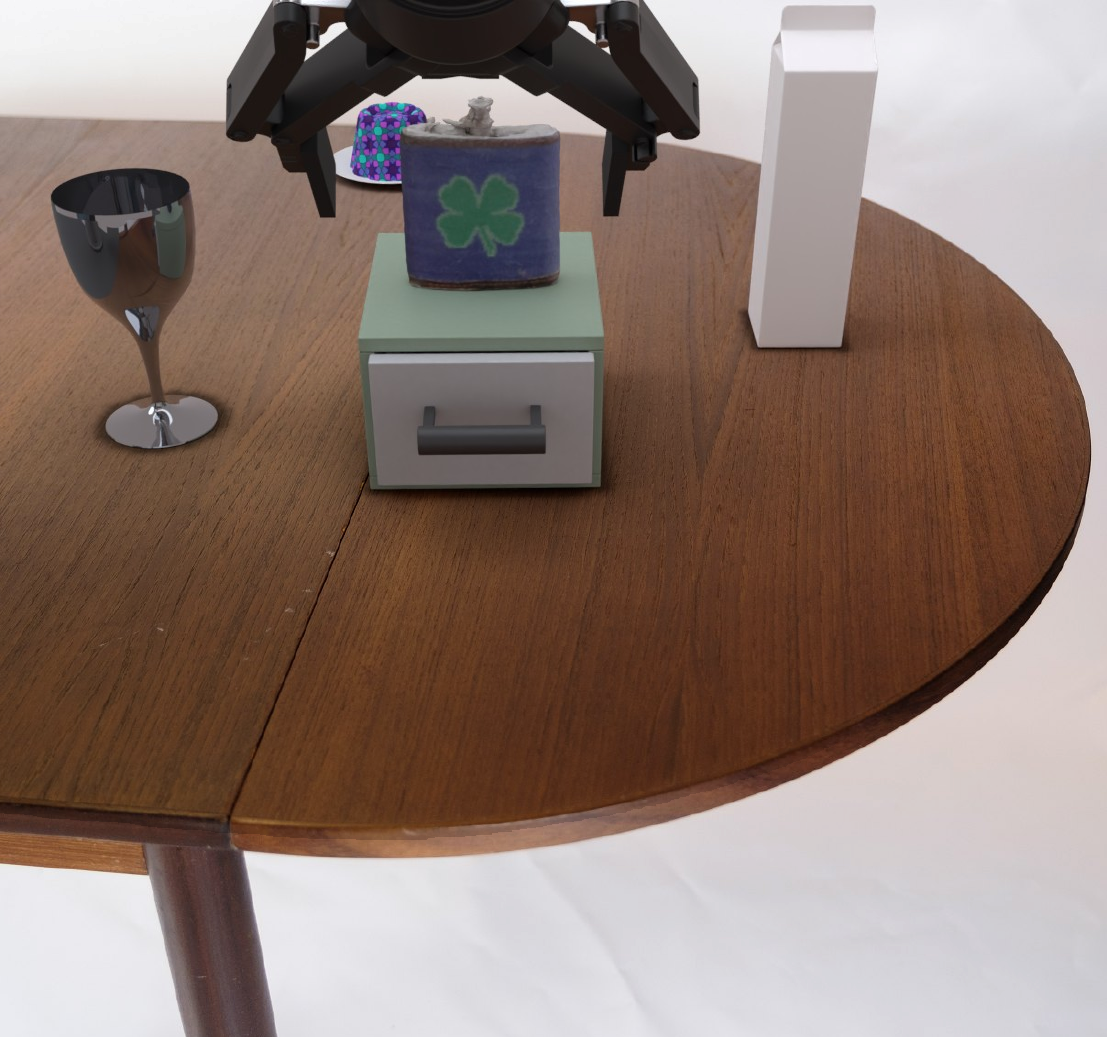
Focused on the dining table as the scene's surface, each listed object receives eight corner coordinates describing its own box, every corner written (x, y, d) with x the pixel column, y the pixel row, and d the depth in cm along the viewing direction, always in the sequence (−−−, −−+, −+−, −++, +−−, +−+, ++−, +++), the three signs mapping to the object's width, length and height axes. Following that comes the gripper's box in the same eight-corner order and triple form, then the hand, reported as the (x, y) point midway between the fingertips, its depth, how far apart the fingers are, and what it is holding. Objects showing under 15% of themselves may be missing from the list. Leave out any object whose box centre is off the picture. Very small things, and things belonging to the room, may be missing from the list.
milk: (747, 314, 107) (774, -7, 93) (829, 313, 107) (867, -8, 94) (757, 349, 102) (787, 16, 89) (843, 348, 102) (885, 15, 89)
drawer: (595, 522, 82) (598, 396, 77) (372, 525, 81) (361, 398, 77) (581, 372, 97) (583, 259, 92) (393, 374, 96) (385, 260, 92)
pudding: (460, 146, 137) (457, 89, 133) (461, 190, 127) (459, 130, 124) (332, 148, 136) (327, 91, 133) (324, 193, 126) (318, 132, 123)
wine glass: (142, 384, 97) (100, 161, 88) (247, 403, 95) (215, 176, 86) (73, 439, 91) (21, 205, 82) (183, 460, 89) (142, 223, 80)
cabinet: (600, 487, 87) (604, 335, 81) (370, 489, 86) (357, 337, 80) (588, 369, 99) (591, 230, 93) (387, 371, 99) (377, 232, 93)
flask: (559, 271, 88) (560, 89, 81) (560, 290, 86) (561, 105, 79) (408, 272, 88) (396, 90, 81) (404, 291, 86) (392, 106, 79)
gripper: (73, 9, 48) (208, 266, 69) (823, 9, 48) (729, 263, 69) (79, -199, 49) (210, 117, 70) (814, -196, 49) (724, 116, 70)
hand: (469, 190), depth 70 cm, fingers open, 13 cm apart
